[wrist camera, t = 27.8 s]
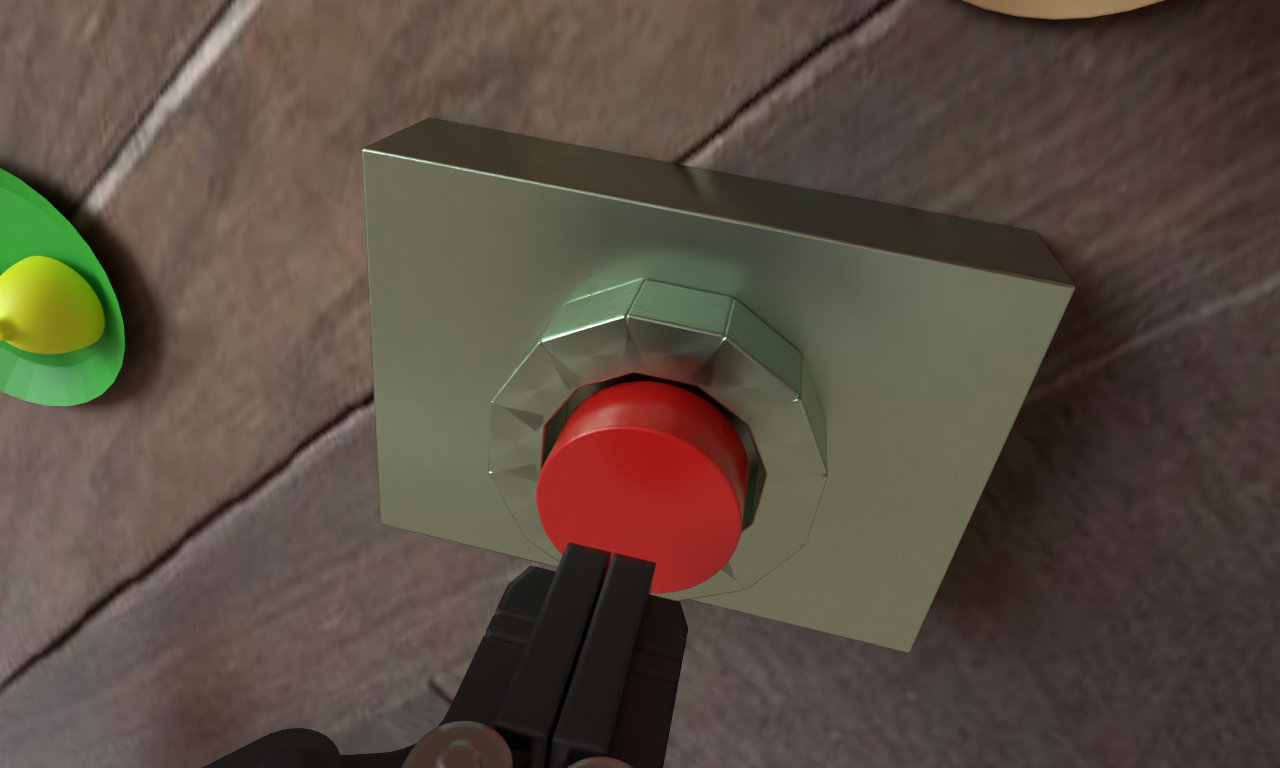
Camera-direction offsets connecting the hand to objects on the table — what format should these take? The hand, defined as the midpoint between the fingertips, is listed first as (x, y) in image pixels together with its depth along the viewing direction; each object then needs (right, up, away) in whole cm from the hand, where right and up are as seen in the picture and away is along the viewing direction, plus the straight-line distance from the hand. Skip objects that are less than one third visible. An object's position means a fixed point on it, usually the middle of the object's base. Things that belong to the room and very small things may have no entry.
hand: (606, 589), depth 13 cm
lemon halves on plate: (-18, +7, +10) cm, 22 cm away
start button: (+1, +2, +3) cm, 4 cm away
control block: (+2, +4, +7) cm, 8 cm away
